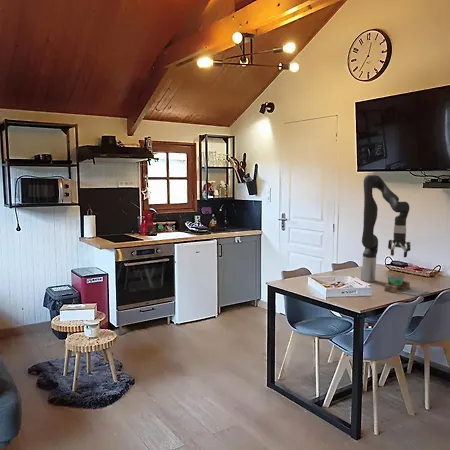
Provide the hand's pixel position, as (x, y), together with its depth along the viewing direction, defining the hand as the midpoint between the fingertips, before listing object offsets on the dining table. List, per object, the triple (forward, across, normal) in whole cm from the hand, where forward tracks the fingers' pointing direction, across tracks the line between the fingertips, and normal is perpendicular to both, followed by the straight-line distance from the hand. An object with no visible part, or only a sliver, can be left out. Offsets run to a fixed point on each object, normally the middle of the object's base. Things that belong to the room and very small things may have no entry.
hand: (398, 256), depth 301 cm
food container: (+22, 0, 0) cm, 22 cm away
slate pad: (+22, +12, 0) cm, 25 cm away
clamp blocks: (+22, 0, 0) cm, 22 cm away
